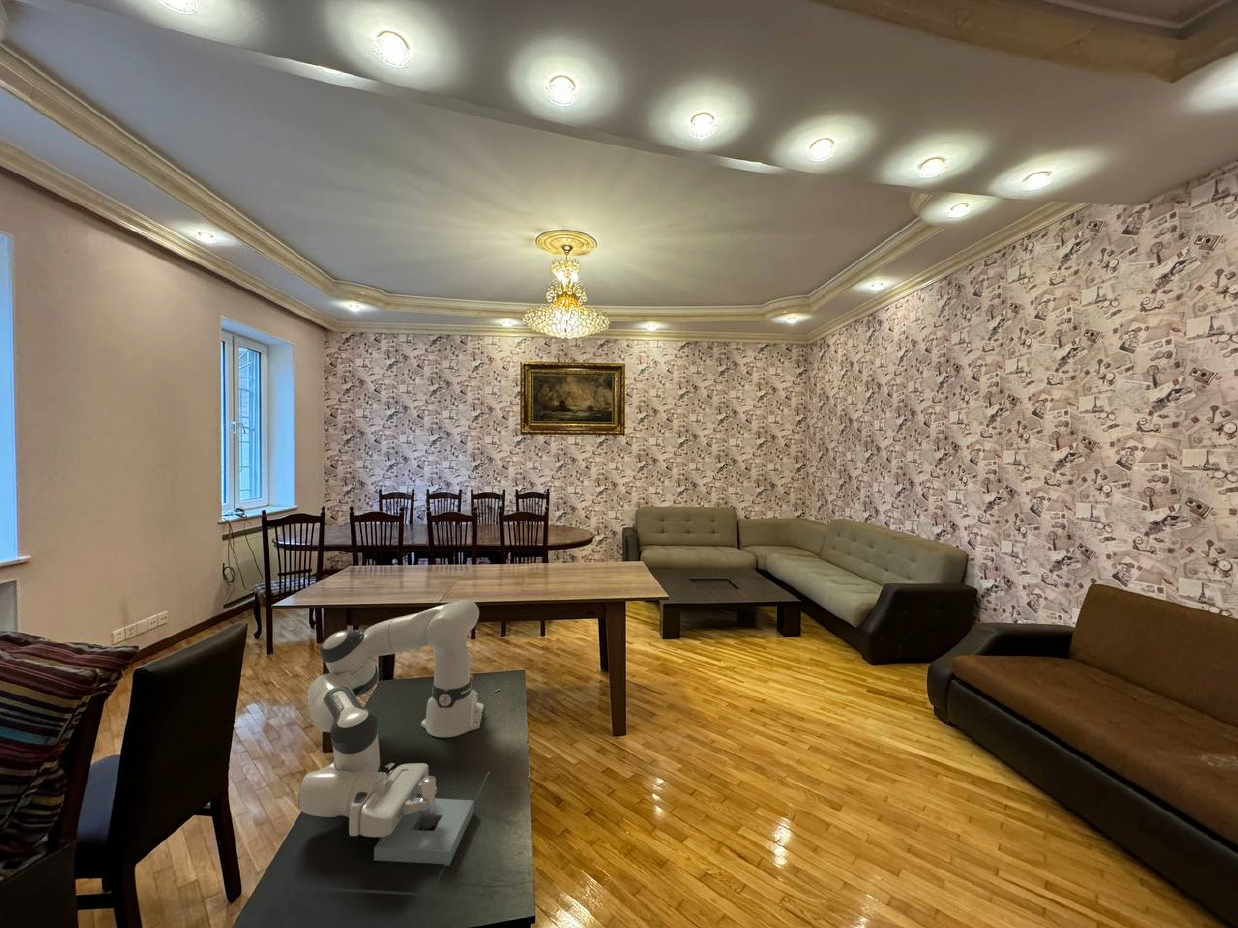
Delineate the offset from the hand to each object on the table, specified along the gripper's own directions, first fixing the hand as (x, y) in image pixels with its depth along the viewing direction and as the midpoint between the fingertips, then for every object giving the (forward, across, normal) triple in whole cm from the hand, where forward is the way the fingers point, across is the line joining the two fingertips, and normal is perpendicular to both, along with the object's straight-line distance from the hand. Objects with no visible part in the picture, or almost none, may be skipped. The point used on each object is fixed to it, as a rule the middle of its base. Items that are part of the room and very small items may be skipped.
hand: (431, 797), depth 111 cm
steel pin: (-1, 0, -6) cm, 6 cm away
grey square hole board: (-1, 0, -9) cm, 9 cm away
